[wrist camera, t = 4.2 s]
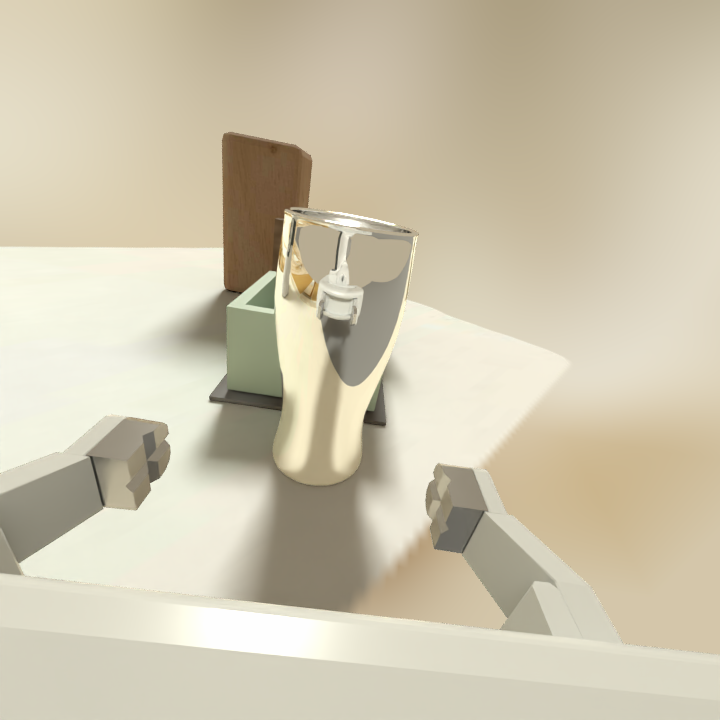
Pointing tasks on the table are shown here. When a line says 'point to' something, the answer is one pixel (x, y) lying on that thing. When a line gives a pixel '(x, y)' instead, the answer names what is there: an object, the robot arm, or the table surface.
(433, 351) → the table surface
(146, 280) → the table surface
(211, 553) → the table surface
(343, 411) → the beer glass
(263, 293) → the sage green storage bin
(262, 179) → the wooden block
